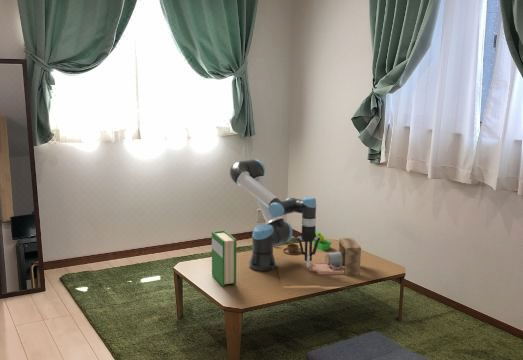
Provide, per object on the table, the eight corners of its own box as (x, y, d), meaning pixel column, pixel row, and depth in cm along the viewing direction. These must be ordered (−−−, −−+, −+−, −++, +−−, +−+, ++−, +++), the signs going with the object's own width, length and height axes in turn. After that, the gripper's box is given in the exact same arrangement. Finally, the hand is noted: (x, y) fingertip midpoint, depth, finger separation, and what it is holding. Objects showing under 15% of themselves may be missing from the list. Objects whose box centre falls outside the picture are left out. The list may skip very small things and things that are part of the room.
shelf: (345, 275, 280) (346, 247, 277) (338, 264, 298) (339, 238, 295) (359, 275, 281) (361, 247, 278) (351, 264, 298) (353, 238, 296)
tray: (311, 274, 281) (311, 269, 280) (307, 265, 295) (307, 260, 294) (344, 274, 282) (344, 268, 281) (338, 265, 296) (338, 260, 296)
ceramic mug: (323, 262, 293) (325, 250, 291) (337, 262, 295) (338, 249, 293) (330, 270, 283) (332, 257, 281) (344, 270, 285) (346, 257, 283)
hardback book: (236, 284, 265) (236, 239, 261) (222, 286, 262) (222, 240, 258) (224, 273, 281) (224, 230, 277) (211, 274, 278) (211, 231, 274)
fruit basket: (332, 250, 323) (332, 232, 321) (320, 252, 319) (321, 234, 317) (320, 245, 333) (321, 228, 331) (309, 247, 328) (310, 230, 326)
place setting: (283, 257, 310) (283, 248, 309) (270, 247, 328) (270, 239, 327) (309, 254, 317) (309, 245, 316) (295, 245, 335) (295, 236, 334)
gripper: (297, 227, 279) (297, 268, 283) (321, 226, 280) (320, 268, 283) (296, 223, 286) (295, 264, 290) (319, 223, 287) (318, 264, 291)
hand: (308, 266), depth 287 cm, fingers closed
